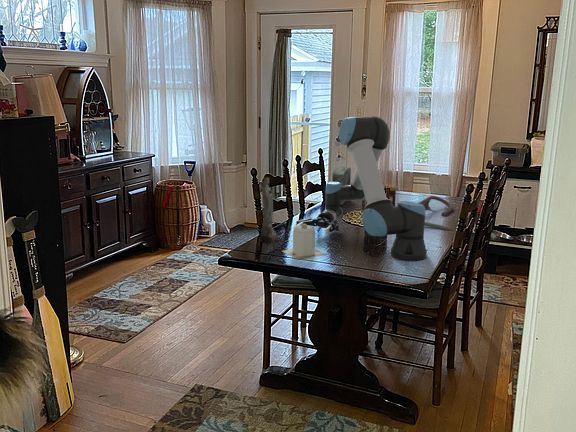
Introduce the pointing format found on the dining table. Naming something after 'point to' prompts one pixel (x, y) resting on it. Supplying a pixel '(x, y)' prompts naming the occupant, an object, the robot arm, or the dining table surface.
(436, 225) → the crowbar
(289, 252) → the board
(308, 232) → the white lidded jar
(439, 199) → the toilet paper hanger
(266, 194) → the statue
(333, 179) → the concrete block
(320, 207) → the dining table surface
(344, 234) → the dining table surface
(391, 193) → the supplement box
